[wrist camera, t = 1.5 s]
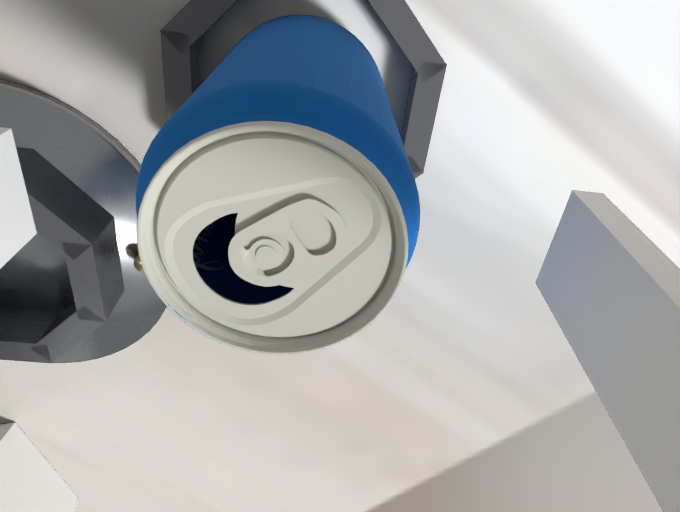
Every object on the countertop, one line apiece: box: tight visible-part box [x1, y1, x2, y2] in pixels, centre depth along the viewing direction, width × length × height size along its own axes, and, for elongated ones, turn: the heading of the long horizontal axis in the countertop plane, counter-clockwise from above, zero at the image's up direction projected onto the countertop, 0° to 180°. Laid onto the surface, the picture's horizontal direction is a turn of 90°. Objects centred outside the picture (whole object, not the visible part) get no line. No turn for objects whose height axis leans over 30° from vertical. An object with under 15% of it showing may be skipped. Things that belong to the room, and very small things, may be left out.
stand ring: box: [160, 0, 447, 179], centre depth 20 cm, size 10×10×1 cm
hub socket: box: [0, 79, 167, 363], centre depth 23 cm, size 15×15×3 cm
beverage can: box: [136, 15, 420, 354], centre depth 15 cm, size 6×6×12 cm
